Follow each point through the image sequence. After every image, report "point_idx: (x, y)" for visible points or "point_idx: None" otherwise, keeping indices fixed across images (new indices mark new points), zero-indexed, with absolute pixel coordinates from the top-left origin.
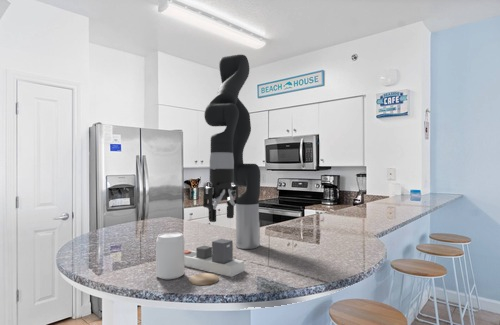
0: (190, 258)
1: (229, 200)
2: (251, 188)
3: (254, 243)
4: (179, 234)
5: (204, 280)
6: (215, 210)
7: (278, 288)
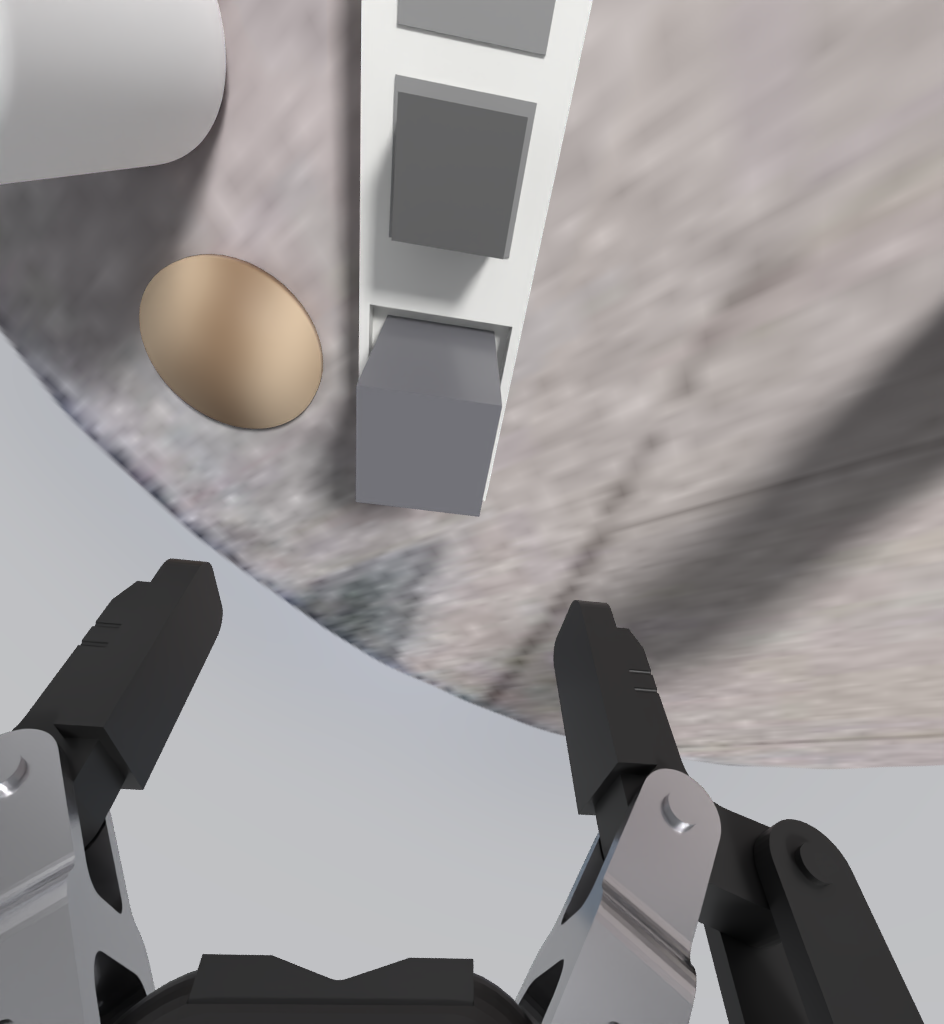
0: (363, 34)
1: (546, 956)
2: None
3: None
4: None
5: (205, 376)
6: (129, 772)
7: (360, 628)
